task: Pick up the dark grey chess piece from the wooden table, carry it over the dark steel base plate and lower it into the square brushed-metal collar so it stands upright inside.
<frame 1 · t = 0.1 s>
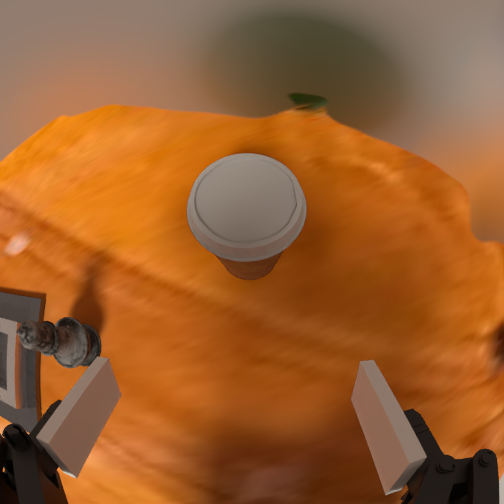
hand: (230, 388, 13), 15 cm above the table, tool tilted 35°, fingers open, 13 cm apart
disposable coffee cup: (249, 253, 32), on the table
dark grey chess piece: (85, 345, 28), on the table
collar plate: (8, 358, 26), on the table
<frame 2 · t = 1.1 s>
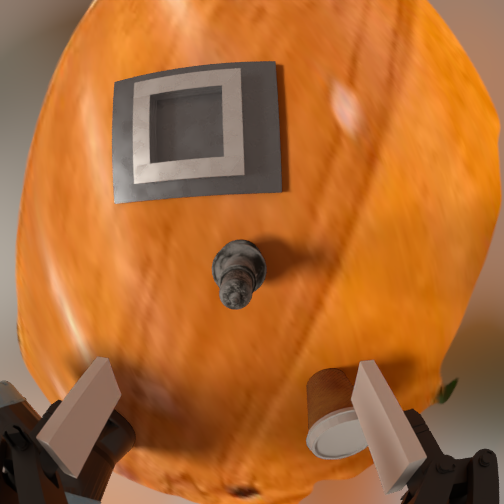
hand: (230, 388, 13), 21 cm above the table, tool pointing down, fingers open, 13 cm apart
disposable coffee cup: (326, 383, 38), on the table
dark grey chess piece: (240, 260, 34), on the table
collar plate: (191, 129, 30), on the table
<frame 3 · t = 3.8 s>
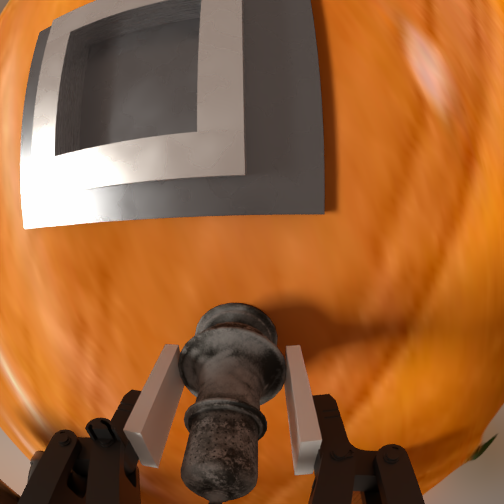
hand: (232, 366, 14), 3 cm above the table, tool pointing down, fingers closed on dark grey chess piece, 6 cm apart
dark grey chess piece: (236, 338, 17), on the table, touching gripper
collar plate: (144, 86, 13), on the table
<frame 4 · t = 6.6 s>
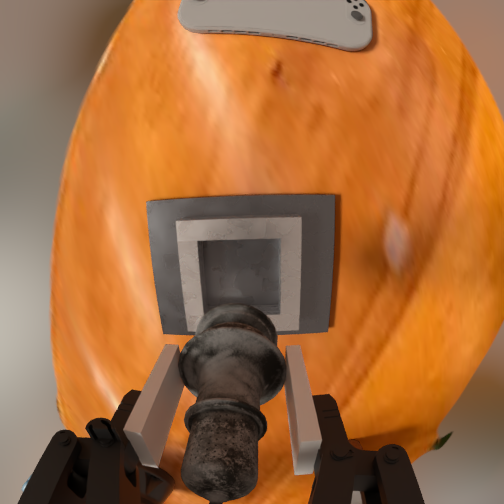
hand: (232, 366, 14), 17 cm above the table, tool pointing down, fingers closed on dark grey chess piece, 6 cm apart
handheld gaming console: (276, 11, 24), on the table
dark grey chess piece: (236, 338, 17), point 14 cm above the table, touching gripper
collar plate: (241, 268, 31), on the table
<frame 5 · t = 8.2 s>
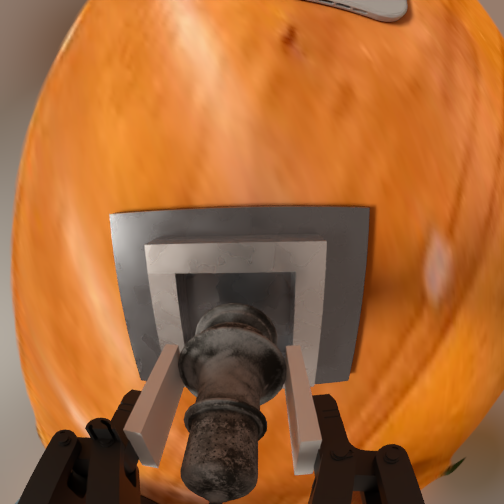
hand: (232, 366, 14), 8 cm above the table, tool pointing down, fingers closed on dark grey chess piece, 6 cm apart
disposable coffee cup: (352, 485, 31), on the table
dark grey chess piece: (236, 338, 17), point 5 cm above the table, touching gripper
collar plate: (239, 305, 23), on the table
when the fingers open (5 cm above the table, at t = 9.6 s): dark grey chess piece stays where it is, resting on collar plate.
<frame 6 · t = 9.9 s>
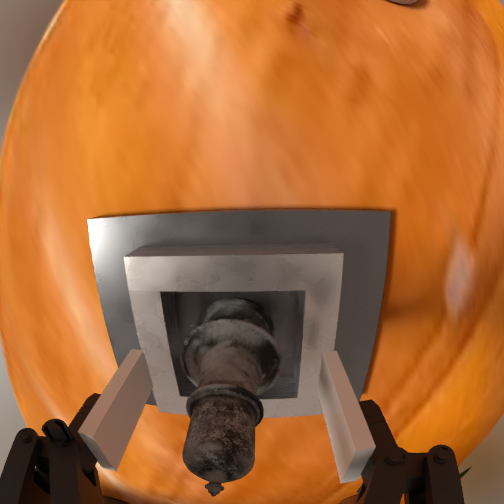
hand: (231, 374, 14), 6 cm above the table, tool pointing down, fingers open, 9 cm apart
disposable coffee cup: (356, 499, 28), on the table
dark grey chess piece: (235, 331, 18), point 1 cm above the table, touching collar plate
collar plate: (237, 325, 19), on the table
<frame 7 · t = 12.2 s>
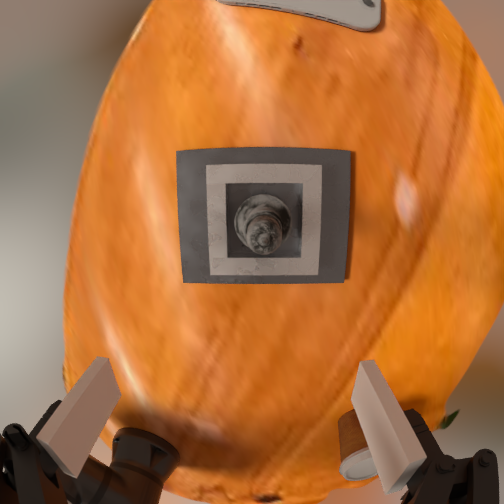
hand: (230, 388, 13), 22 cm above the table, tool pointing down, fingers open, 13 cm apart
disposable coffee cup: (354, 418, 42), on the table
dark grey chess piece: (263, 217, 32), point 1 cm above the table, touching collar plate
collar plate: (264, 216, 33), on the table
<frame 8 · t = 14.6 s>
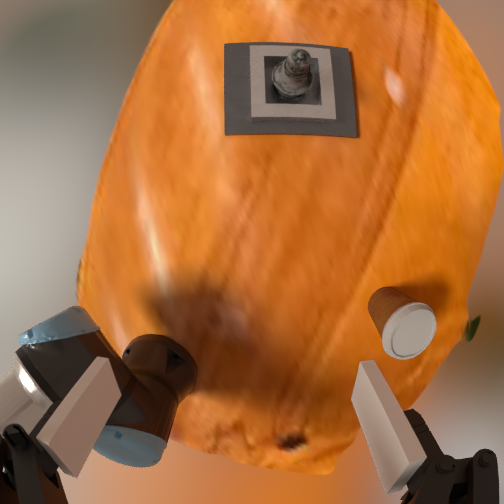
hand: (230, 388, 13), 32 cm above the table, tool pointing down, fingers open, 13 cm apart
disposable coffee cup: (383, 302, 46), on the table
dark grey chess piece: (289, 85, 36), point 1 cm above the table, touching collar plate
collar plate: (290, 86, 37), on the table
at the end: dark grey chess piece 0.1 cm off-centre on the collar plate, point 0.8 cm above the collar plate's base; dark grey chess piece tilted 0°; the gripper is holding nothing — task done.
